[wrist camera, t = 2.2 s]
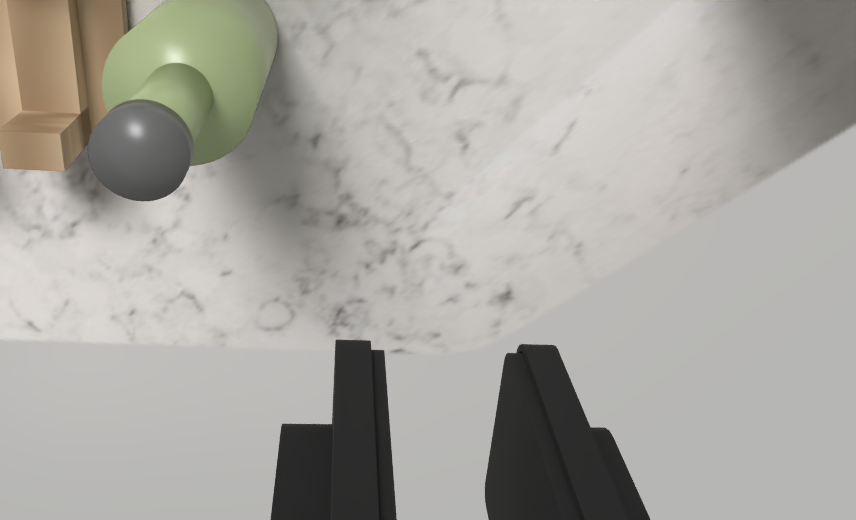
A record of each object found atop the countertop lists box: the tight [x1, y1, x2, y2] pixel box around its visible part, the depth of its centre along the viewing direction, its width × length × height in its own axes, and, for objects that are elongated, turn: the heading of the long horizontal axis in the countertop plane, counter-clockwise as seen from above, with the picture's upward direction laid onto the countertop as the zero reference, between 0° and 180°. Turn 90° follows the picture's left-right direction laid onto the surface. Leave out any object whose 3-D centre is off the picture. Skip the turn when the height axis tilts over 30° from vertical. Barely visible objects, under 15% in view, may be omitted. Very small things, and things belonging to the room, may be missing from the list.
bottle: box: [88, 0, 278, 201], centre depth 29 cm, size 5×5×16 cm
